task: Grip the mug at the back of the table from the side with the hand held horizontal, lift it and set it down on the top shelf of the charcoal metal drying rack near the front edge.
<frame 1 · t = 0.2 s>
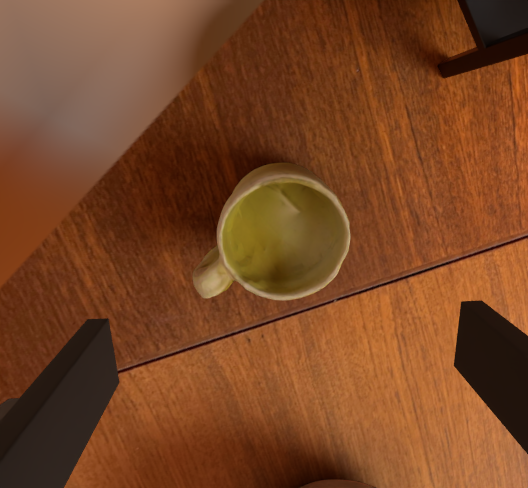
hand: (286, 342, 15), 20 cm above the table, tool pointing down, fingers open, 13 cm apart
mug: (260, 224, 34), on the table
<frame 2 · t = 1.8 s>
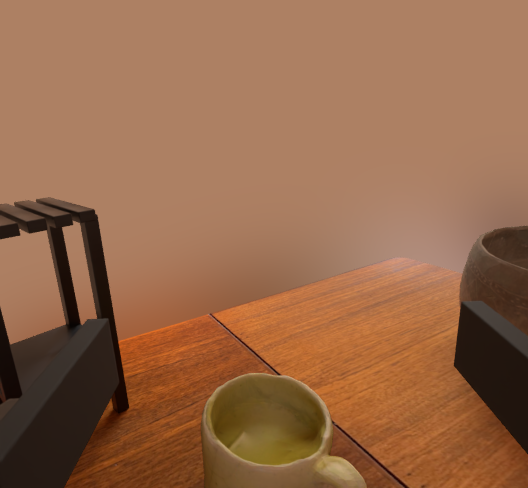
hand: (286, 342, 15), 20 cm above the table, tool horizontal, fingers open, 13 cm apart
rack: (60, 408, 41), on the table
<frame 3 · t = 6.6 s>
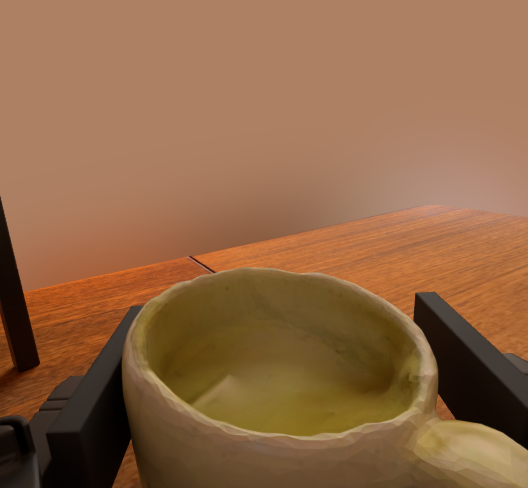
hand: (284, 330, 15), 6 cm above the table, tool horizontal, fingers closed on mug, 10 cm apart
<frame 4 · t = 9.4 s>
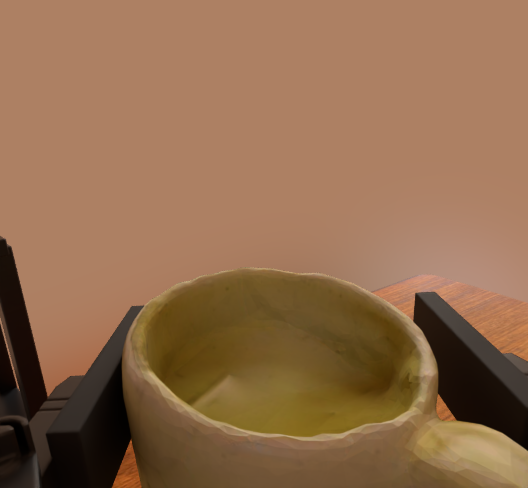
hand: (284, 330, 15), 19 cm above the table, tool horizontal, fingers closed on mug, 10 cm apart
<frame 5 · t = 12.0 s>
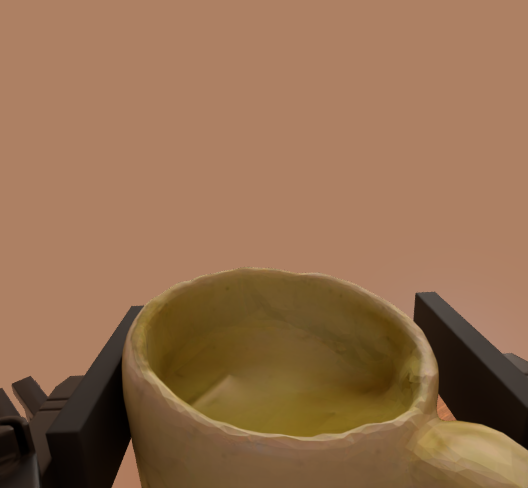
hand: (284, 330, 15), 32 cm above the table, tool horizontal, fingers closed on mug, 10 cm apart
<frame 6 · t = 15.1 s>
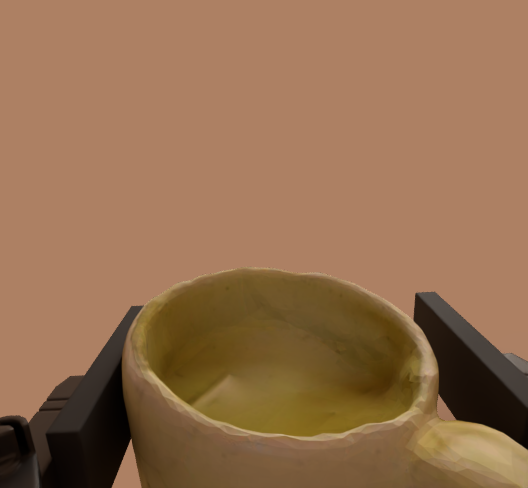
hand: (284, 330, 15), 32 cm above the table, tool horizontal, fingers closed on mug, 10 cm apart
when the fingers open (27 cm above the table, at t = 17.7 s): mug stays where it is, resting on rack.
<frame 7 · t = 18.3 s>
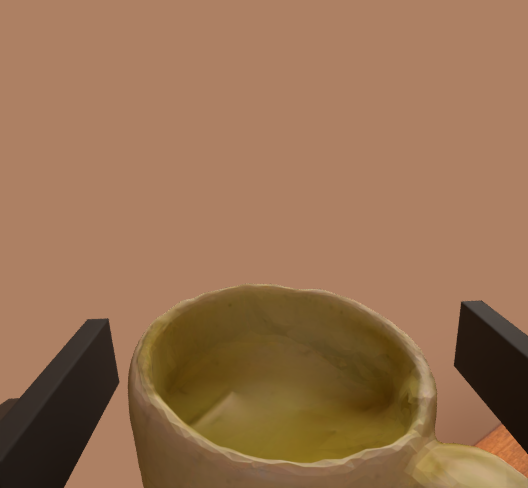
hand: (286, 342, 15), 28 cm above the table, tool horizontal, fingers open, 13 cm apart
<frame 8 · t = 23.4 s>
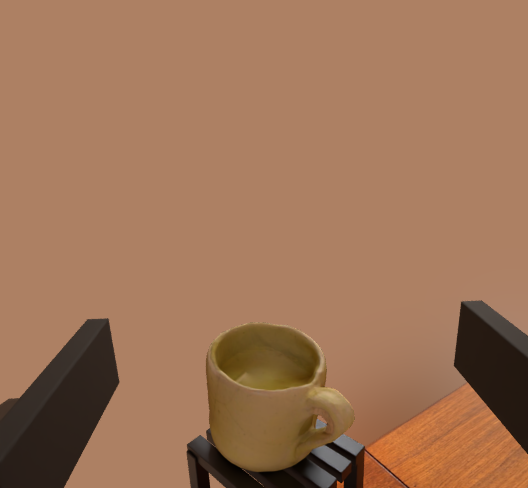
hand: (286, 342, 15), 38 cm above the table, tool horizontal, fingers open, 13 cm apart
mug: (279, 446, 32), point 21 cm above the table, touching rack
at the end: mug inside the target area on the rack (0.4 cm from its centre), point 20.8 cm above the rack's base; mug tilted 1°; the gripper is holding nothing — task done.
